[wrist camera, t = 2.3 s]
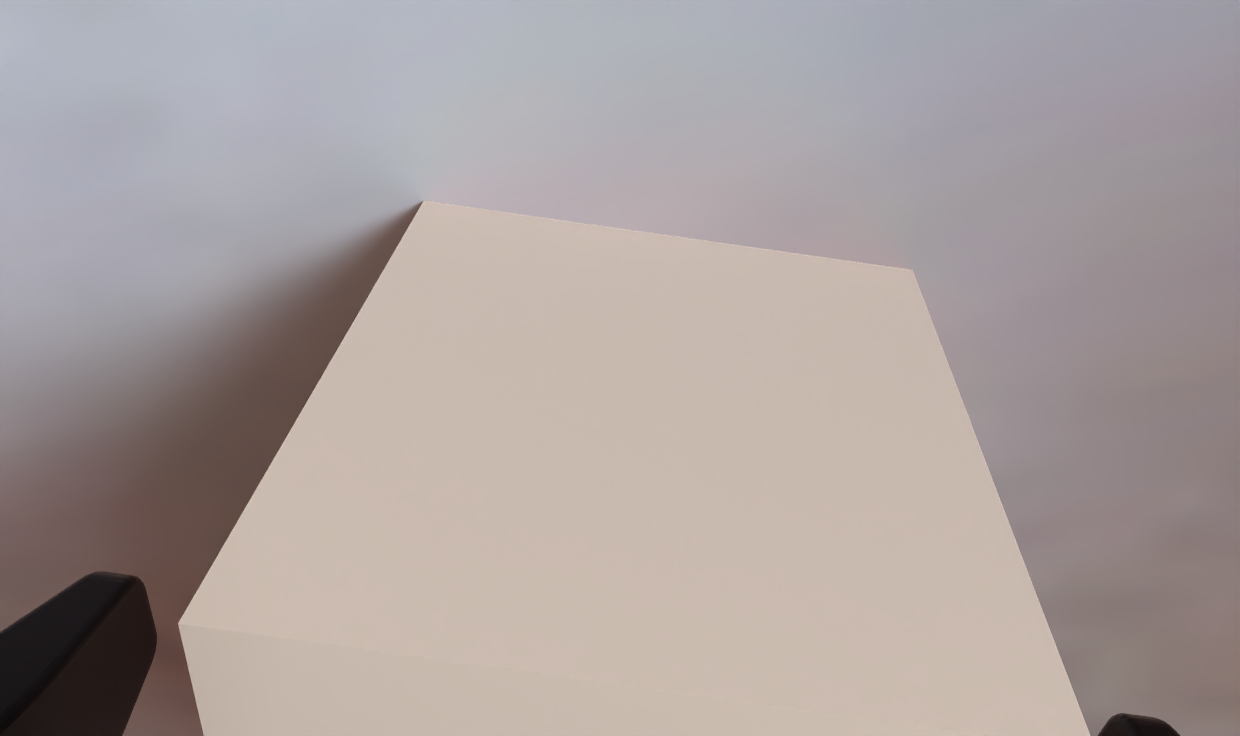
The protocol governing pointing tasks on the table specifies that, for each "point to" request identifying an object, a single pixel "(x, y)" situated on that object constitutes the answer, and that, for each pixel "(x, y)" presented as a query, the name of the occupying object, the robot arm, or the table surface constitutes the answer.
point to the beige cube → (626, 509)
